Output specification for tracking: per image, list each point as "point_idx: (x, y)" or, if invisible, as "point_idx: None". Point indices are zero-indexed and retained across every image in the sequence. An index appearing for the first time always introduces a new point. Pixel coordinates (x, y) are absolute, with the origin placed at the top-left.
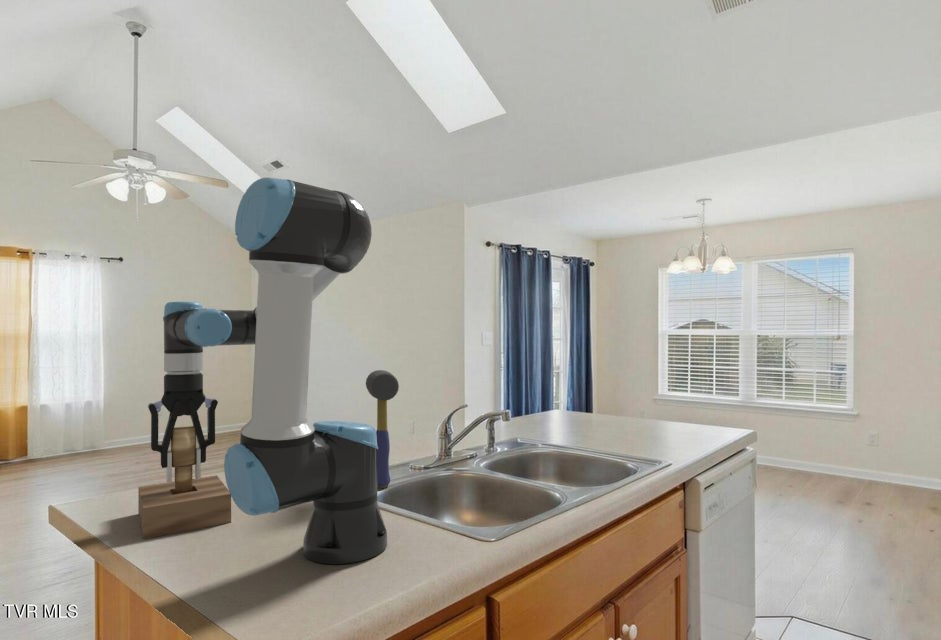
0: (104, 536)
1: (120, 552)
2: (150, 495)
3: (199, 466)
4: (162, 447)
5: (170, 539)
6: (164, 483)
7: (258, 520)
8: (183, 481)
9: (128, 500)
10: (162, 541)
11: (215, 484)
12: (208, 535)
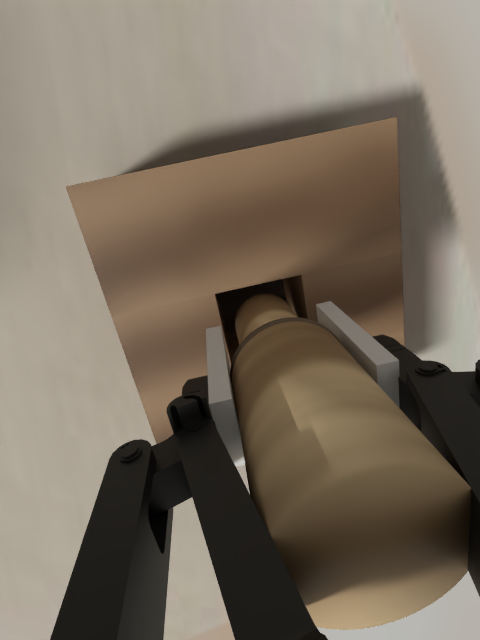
0: (441, 214)
1: (402, 28)
2: (372, 295)
3: (211, 351)
4: (453, 376)
5: (271, 91)
6: None
7: (5, 168)
8: (271, 309)
9: None
10: (293, 81)
11: (156, 359)
12: (156, 72)
